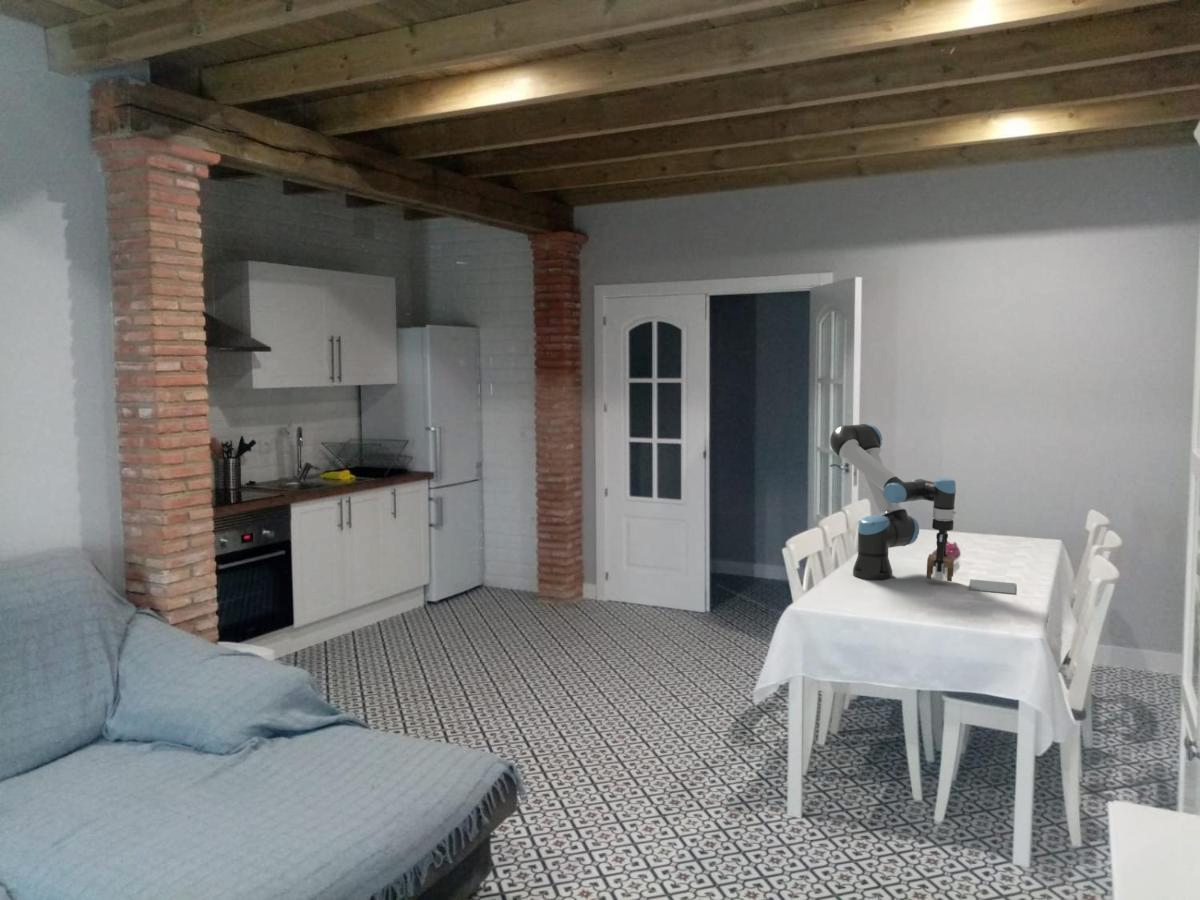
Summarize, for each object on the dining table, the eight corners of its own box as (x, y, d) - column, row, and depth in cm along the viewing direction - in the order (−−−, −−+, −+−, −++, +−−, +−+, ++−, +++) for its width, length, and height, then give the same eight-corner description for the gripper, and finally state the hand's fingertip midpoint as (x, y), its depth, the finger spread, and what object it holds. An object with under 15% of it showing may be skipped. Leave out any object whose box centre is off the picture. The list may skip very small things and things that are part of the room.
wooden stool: (926, 578, 350) (927, 559, 349) (928, 573, 358) (929, 554, 357) (951, 581, 346) (952, 561, 345) (953, 575, 354) (954, 556, 354)
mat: (968, 590, 341) (968, 588, 341) (970, 580, 356) (970, 579, 356) (1015, 594, 335) (1015, 593, 335) (1015, 584, 349) (1015, 583, 349)
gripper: (951, 525, 338) (948, 584, 341) (955, 514, 358) (952, 570, 361) (930, 523, 341) (926, 582, 344) (935, 513, 361) (932, 568, 364)
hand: (939, 576), depth 352 cm, fingers closed on wooden stool, 9 cm apart
